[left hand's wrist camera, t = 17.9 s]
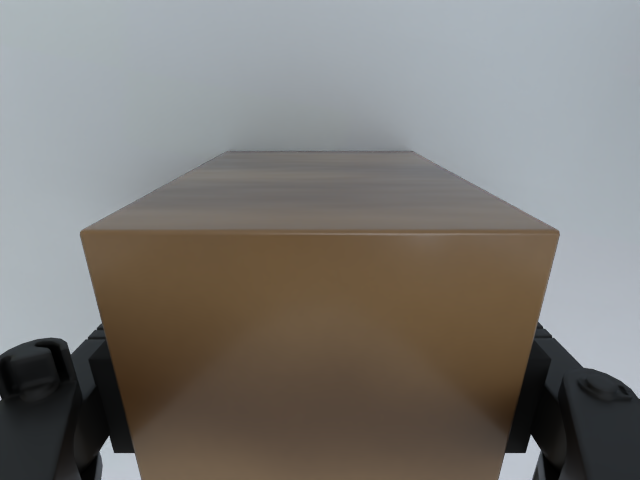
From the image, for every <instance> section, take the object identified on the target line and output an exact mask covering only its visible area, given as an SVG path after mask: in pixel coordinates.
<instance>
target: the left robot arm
mask: <svg viewBox="0 0 640 480" xmlns="http://www.w3.org/2000/svg"><path fill="white" fill-rule="evenodd" d="M0 396H1V398H2V399H1V401H0V480H101V475H102V467H103V465H102V459H101V455H100V452H99V451H100V449H101V447H102V446H103V444H104V443H105V441H106V440H107V438H108V436H110V440H111V443H112V447H113V450H114V453H135V452H134V448H133V444H132V440H131V436H130V432H129V428H128V424H127V420H126V416H125V412H124V408H123V404H122V400H121V396H120V392H119V388H118V384H117V380H116V376H115V372H114V368H113V364H112V360H111V356H110V352H109V348H108V344H107V340H106V337H105V333H104V329H103V325H102V324H101V325H100V326H99V327H98V328H97V330H95V331H94V332H93V333H92V334H91V335H90V336H89V337H88V340H85V341H84V342H83V343H82V344H81V345H80V346H79V347H78V348H77V349H76V350H75V351H74V352H73V353H72V354H71V355H70V351H69V348H68V345H67V342H65V341H64V340H62V339H58V338H44V339H37V340H33V341H30V342H26V343H23V344H21V345H18V346H16V347H14V348H12V349H9V350H8V351H6V352H5V353H3V354H2V355H0ZM530 435H532V436H533V438H534V440H535V441H536V443H537V444H538V446H539V447H540V449H541V452H540V455H539V458H538V462H537V465H536V468H535V472H534V475H533V478H532V480H640V399H638V397H637V396H636V395H635V393H634V392H633V391H632V389H630V388H629V387H628V386H626V385H625V384H624V383H622V382H621V381H620V380H618V379H616V378H614V377H612V376H610V375H608V374H606V373H603V372H600V371H597V370H594V369H588V368H583V367H582V366H581V365H580V364H579V363H578V362H577V361H576V360H575V359H574V358H573V357H572V356H571V355H570V354H569V353H568V352H567V351H566V350H565V349H564V348H563V347H562V346H561V345H560V344H559V342H558V341H557V340H556V339H555V338H552V335H551V334H550V333H549V332H548V331H547V330H546V329H543V326H542V325H541V324H540V323H539V322H538V323H537V327H536V331H535V335H534V339H533V343H532V347H531V351H530V355H529V359H528V363H527V367H526V371H525V375H524V379H523V383H522V387H521V391H520V395H519V399H518V403H517V407H516V411H515V415H514V419H513V423H512V427H511V431H510V435H509V439H508V443H507V447H506V451H505V453H526V449H527V446H528V442H529V439H530Z"/></svg>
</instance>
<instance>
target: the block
mask: <svg viewBox="0 0 640 480" xmlns="http://www.w3.org/2000/svg"><path fill="white" fill-rule="evenodd" d="M559 236H560V233H559V231H558V230H557V229H555V228H553V227H551V226H550V225H548V224H546V223H544V222H542V221H540V220H538V219H537V218H535V217H533V216H531V215H529V214H527V213H526V212H524V211H522V210H520V209H518V208H516V207H514V206H513V205H511V204H509V203H507V202H505V201H503V200H502V199H500V198H498V197H496V196H494V195H492V194H490V193H489V192H487V191H485V190H483V189H481V188H479V187H478V186H476V185H474V184H472V183H470V182H468V181H467V180H465V179H463V178H461V177H459V176H457V175H455V174H454V173H452V172H450V171H448V170H446V169H444V168H443V167H441V166H439V165H437V164H435V163H433V162H431V161H430V160H428V159H426V158H424V157H422V156H420V155H419V154H417V153H415V152H413V151H227V152H225V153H223V154H221V155H219V156H217V157H216V158H214V159H212V160H210V161H208V162H206V163H205V164H203V165H201V166H199V167H197V168H195V169H193V170H192V171H190V172H188V173H186V174H184V175H182V176H181V177H179V178H177V179H175V180H173V181H171V182H170V183H168V184H166V185H164V186H162V187H160V188H158V189H157V190H155V191H153V192H151V193H149V194H147V195H146V196H144V197H142V198H140V199H138V200H136V201H134V202H133V203H131V204H129V205H127V206H125V207H123V208H122V209H120V210H118V211H116V212H114V213H112V214H111V215H109V216H107V217H105V218H103V219H101V220H99V221H98V222H96V223H94V224H92V225H90V226H88V227H87V228H85V229H83V230H81V232H80V237H81V241H82V245H83V249H84V253H85V257H86V261H87V265H88V269H89V273H90V277H91V281H92V285H93V289H94V293H95V297H96V301H97V305H98V309H99V313H100V317H101V321H102V325H103V329H104V333H105V337H106V340H107V344H108V348H109V352H110V356H111V360H112V364H113V368H114V372H115V376H116V380H117V384H118V388H119V392H120V396H121V400H122V404H123V408H124V412H125V416H126V420H127V424H128V428H129V432H130V436H131V440H132V444H133V448H134V452H135V456H136V460H137V464H138V468H139V472H140V476H141V480H498V478H499V474H500V470H501V466H502V463H503V459H504V455H505V451H506V447H507V443H508V439H509V435H510V431H511V427H512V423H513V419H514V415H515V411H516V407H517V403H518V399H519V395H520V391H521V387H522V383H523V379H524V375H525V371H526V367H527V363H528V359H529V355H530V351H531V347H532V343H533V339H534V335H535V331H536V327H537V323H538V319H539V315H540V311H541V307H542V303H543V300H544V296H545V292H546V288H547V284H548V280H549V276H550V272H551V268H552V264H553V260H554V256H555V252H556V248H557V244H558V240H559Z"/></svg>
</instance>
